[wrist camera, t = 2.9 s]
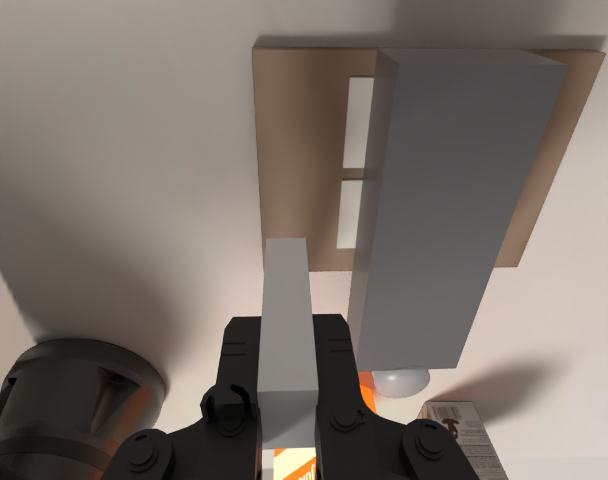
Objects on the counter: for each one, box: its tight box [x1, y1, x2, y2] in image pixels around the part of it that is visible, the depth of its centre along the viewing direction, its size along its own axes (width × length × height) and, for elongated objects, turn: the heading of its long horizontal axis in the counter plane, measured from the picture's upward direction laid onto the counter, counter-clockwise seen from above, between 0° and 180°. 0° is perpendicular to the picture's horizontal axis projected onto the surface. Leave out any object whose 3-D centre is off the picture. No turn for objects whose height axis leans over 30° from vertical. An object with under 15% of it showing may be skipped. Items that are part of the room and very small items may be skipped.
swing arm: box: [347, 48, 569, 398], centre depth 27 cm, size 8×26×4 cm, turn 179°
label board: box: [252, 47, 606, 272], centre depth 30 cm, size 22×24×3 cm
